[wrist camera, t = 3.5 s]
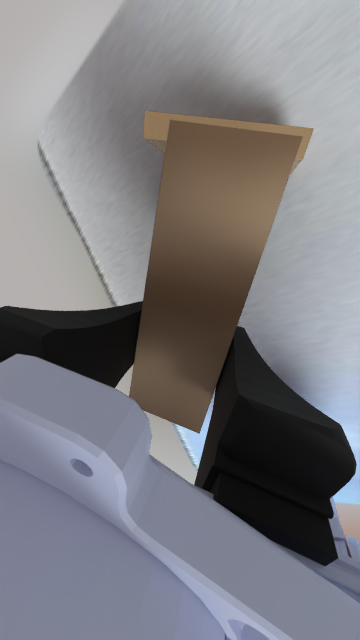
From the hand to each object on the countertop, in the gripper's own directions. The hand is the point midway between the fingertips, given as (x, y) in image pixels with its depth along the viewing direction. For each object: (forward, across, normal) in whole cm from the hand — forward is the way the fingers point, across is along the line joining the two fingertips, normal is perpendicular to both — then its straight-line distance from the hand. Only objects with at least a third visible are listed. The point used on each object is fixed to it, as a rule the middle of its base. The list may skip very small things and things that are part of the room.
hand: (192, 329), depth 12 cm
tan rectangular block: (+3, 0, -2) cm, 3 cm away
